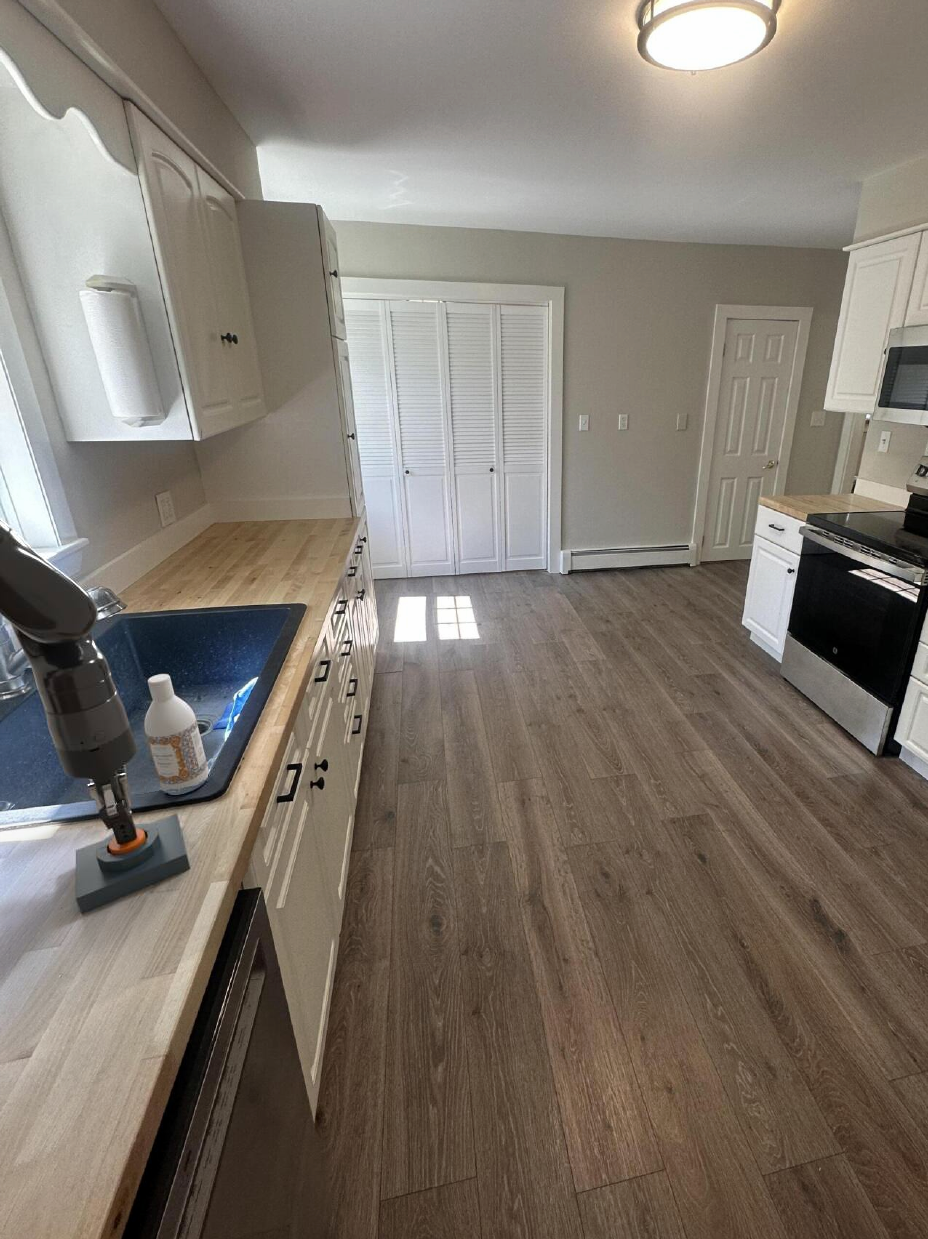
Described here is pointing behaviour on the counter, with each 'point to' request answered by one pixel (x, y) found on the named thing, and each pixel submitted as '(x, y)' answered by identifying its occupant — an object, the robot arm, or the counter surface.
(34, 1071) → the counter surface
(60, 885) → the counter surface
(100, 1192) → the counter surface
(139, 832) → the button
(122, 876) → the button base
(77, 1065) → the counter surface
